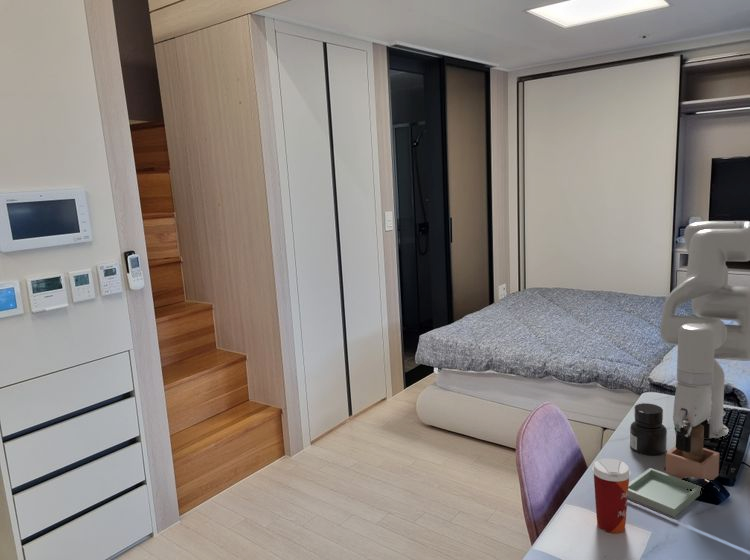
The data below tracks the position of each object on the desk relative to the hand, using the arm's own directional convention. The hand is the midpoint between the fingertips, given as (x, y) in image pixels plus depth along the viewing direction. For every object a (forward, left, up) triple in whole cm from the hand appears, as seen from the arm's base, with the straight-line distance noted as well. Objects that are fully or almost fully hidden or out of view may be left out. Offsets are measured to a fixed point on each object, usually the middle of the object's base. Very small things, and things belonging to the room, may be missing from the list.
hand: (692, 443), depth 137 cm
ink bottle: (-6, -14, -9) cm, 18 cm away
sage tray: (+13, -1, -9) cm, 16 cm away
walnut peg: (0, 0, -9) cm, 9 cm away
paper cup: (+31, -3, -9) cm, 32 cm away
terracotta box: (0, 0, -9) cm, 9 cm away
